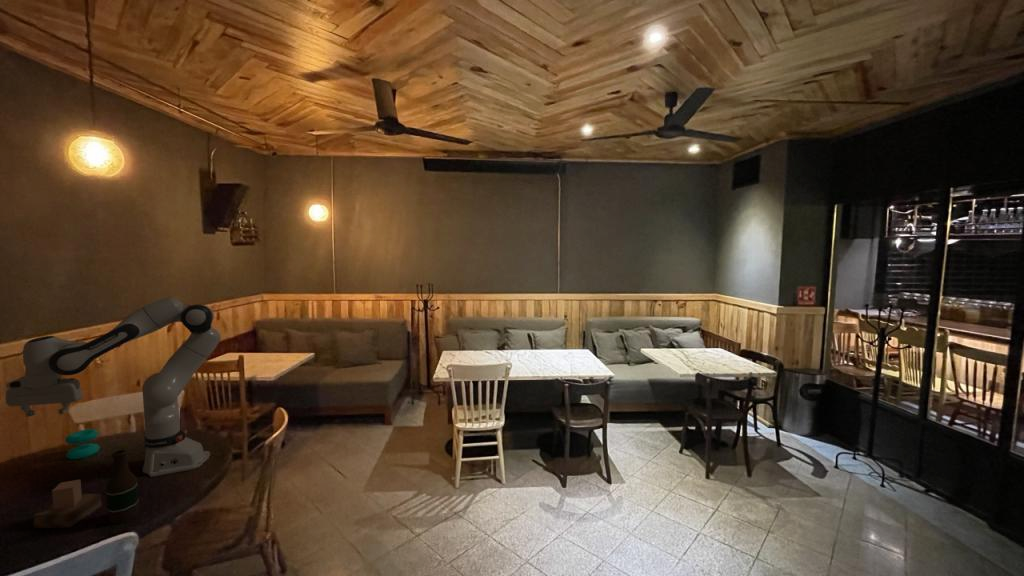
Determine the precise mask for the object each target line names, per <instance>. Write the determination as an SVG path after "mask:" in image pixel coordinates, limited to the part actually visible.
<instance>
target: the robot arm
mask: <svg viewBox="0 0 1024 576" xmlns="http://www.w3.org/2000/svg"><path fill="white" fill-rule="evenodd" d="M214 318H215V313H214V311H213V310H212V309H211V307H209V306H208V305H205V304H200V303H199V304H198V303H197V304H192V305H185V304H184V303H183V302H182V301H181V300H179V299H178V298H177V297H172V296H170V297H165V298H161V299H158V300H156V301H153V302H151V303H148V304H146V305H144V306H141V307H139V308H138V309H136V310H134V311H132V312H131V313H129V314H128V315H127V316H126V317H124V318H123V319H122V320H121V321H120V322H119V323H118V324H117V325H116V326H115V327H113V328H112V329H111V330H109V331H108V332H106V333H104V334H102V335H101V336H97V337H96V338H94V339H92V340H90V341H88V342H85V341H73V340H68V339H67V340H66V339H63V338H59V337H57V336H55V335H47V336H40V337H39V336H38V337H35V338H33V339H30V340H28V341H27V342H25V343H24V345H23V348H22V349H23V350H22V363H23V365H24V367H25V370H24V376H22V377H19V378H16V379H13V380H11V381H9V382H6V385H5V386H6V388H7V390H6V392H5V404H6V405H7V406H9V407H20V410H22V412H24V413H25V417H33V416H35V415H36V413H35V411H36V410H32V408H31V406H38V405H52V404H53V405H54V404H60V405H61V409H60V408H59V409H58V411H57V412H58V415H65V414H67V413H68V407H69V406H70V404H72V403H76V402H78V401H80V400H81V399H82V398H83V392H82V389H81V383H80V380H79V379H78V378H77V379H76V378H74V377H70V378H67V377H65V378H63V377H62V376H74V375H77V374H80V373H81V372H83V371H85V370H86V369H87V367H89V365H90V364H91V363H92V362H93V361H95V360H96V359H97V358H99V357H101V356H103V355H105V354H106V353H109V352H110V351H112V350H114V349H116V348H118V347H120V346H121V345H124V344H125V343H129V342H131V341H134V340H136V339H138V338H141V337H145V336H146V335H149V334H152V333H155V332H157V331H160V330H161V329H164V328H165V327H167V326H169V325H171V324H173V323H179V322H180V323H182V325H183V326H184V327H185V328H186V329H187V330H188V331H189V332H190V335H189V336H188V338H187V339H186V340H185V341H184V342H183V343H182V344H181V345H180V346H179V347H178V348H177V350H176V351H174V353H173V354H172V355H171V356H170V357H169V358H168V359H167V361H166V363H165V364H164V366H163V367H161V368H162V369H160V371H159V372H156V373H153V374H151V375H150V376H148V377H147V378H146V379H145V380H144V381H143V384H142V387H141V388H142V391H141V392H142V401H143V403H142V404H143V417H144V432H145V434H144V435H145V436H144V439H143V440H144V442H143V443H144V449H145V457H144V463H143V467H142V472H143V473H144V474H147V475H148V476H149V477H151V478H153V477H158V476H163V475H169V474H173V473H174V474H175V473H179V472H185V471H191V470H195V469H198V468H199V467H201V466H202V465H204V464H205V463H206V462H207V461H208V460H207V459H210V457H209V456H211V452H210V451H209V450H204V448H203V444H202V443H201V442H199V441H196V440H194V439H191V438H189V437H187V436H186V434H187V432H188V429H186V430H185V431H183V430H182V428H181V426H180V425H181V424H180V411H179V408H180V407H179V401H178V400H179V399H178V397H179V395H181V393H182V392H183V390H184V389H185V387H186V386H187V384H189V382H190V380H191V379H192V378H193V376H194V375H195V373H196V372H197V371H198V370H199V368H200V367H201V366H202V365H203V364H204V363H205V362H206V360H207V359H208V358H209V357H210V356H211V354H213V352H214V351H215V349H216V348H217V346H218V345H219V344H220V341H221V339H222V335H221V334H220V332H219V331H218V330H216V329H215V328H213V326H212V323H213V321H214ZM205 461H206V462H205ZM204 462H205V463H204ZM203 463H204V464H203ZM197 467H198V468H197Z"/></svg>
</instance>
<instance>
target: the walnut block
mask: <svg viewBox="0 0 1024 576" xmlns="http://www.w3.org/2000/svg"><path fill="white" fill-rule="evenodd" d="M101 507H103V504H102V493H82V499H81V500H80V501H79V502H78V503H77V504H76V505H75V506H74V507H68V508H63V509H58V510H54V506H53V503H51V504H50V505H47V506H45V507H44V508H43V509H41V510H39V511H38V512H36V513H34V514H33V515H32V516H33V526H34V529H48V528H50V529H51V528H54V529H55V528H71V527H73V526H75V525H76V524H77V523H79V522H80V521H82V520H83V519H85V518H86V517H87V515H88V516H90V515H91V514H92V513H94V512H95V511H96V510H98V509H99V508H101ZM84 517H85V518H84ZM81 519H82V520H81ZM78 521H79V522H78Z"/></svg>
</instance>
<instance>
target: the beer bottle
mask: <svg viewBox="0 0 1024 576" xmlns="http://www.w3.org/2000/svg"><path fill="white" fill-rule="evenodd" d="M127 454H128V451H127V450H126V449H119V450H117V451H114V452H113V453H112V455H111V457H112V459H113V460H112V461H113V462H112V463H113V464H112V465H113V466H112V476H111V478H110V479H109V481H107V484H106V488H105V495H106V496H105V497H106V508H107V519H108V522H109V523H111V524H114V525H117V524H123V523H126V522H128V521H130V520H131V519H134V518H136V516H137V515H138V513H139V511H140V500H139V485H138V479H137V478H138V477H137V476H136V474H135V473H133V472H131V470H130V468H129V461H128V457H127Z"/></svg>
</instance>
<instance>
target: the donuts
mask: <svg viewBox="0 0 1024 576" xmlns="http://www.w3.org/2000/svg"><path fill="white" fill-rule="evenodd" d="M98 435H99V431H98V430H97V429H94V428H89V429H82V430H78V431H74V432H72V433H70V434H68V435H67V436H65V438H64V441H65V442H66V443H65V444H67V445H68V444H69V445H77V446H74V447H73V448H70V450H68V451H67V453H66V457H67V458H68V459H69V460H80V459H85V458H87V457H90V456H93V455H95V454H97V453H98V452H99V450H100V449H101V448H100V445H98V444H97V443H88V442H91V441H93V440H94V439H96V438H97V437H98ZM79 444H80V445H79Z"/></svg>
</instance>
